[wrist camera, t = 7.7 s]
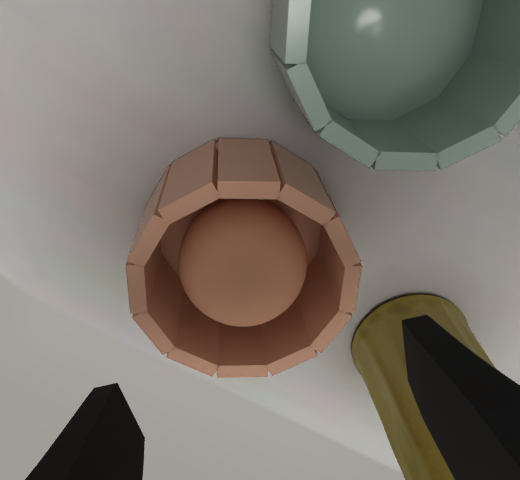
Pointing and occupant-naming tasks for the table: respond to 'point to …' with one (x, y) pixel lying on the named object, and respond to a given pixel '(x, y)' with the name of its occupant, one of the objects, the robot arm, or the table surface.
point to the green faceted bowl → (402, 75)
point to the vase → (405, 378)
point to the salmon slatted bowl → (180, 218)
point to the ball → (242, 262)
